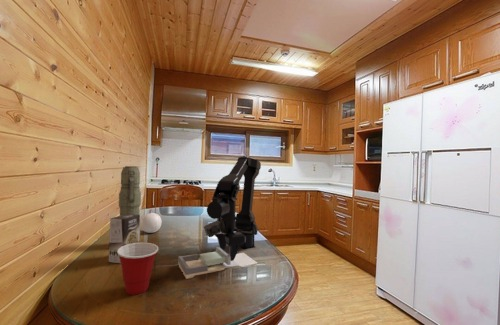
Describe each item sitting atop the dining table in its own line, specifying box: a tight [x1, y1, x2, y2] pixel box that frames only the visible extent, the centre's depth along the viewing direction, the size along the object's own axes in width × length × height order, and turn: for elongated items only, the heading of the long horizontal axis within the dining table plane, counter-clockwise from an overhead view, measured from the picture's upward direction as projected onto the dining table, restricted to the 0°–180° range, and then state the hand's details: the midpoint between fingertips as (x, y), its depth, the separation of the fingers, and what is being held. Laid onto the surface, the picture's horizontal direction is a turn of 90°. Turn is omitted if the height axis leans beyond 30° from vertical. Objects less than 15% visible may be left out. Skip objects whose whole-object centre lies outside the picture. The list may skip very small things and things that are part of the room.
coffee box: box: [108, 214, 141, 264], centre depth 94 cm, size 9×6×16 cm
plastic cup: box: [117, 242, 159, 296], centre depth 70 cm, size 11×11×12 cm
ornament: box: [140, 209, 163, 234], centre depth 131 cm, size 10×10×12 cm
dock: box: [177, 252, 258, 280], centre depth 89 cm, size 26×12×3 cm, turn 118°
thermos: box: [118, 165, 142, 243], centre depth 110 cm, size 9×12×35 cm
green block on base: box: [199, 245, 231, 267], centre depth 88 cm, size 8×12×4 cm, turn 28°
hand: (226, 256), depth 91 cm, fingers open, 9 cm apart
